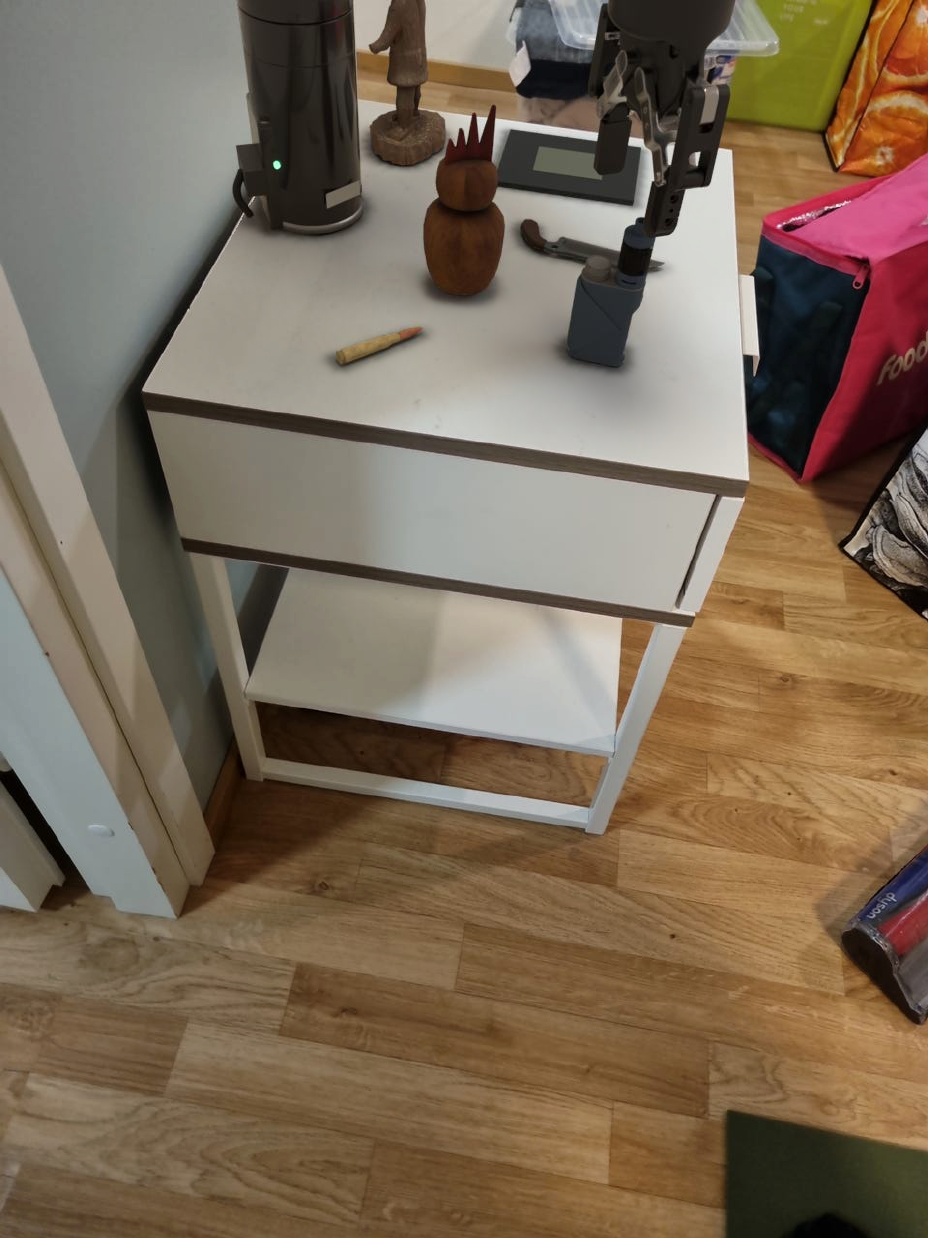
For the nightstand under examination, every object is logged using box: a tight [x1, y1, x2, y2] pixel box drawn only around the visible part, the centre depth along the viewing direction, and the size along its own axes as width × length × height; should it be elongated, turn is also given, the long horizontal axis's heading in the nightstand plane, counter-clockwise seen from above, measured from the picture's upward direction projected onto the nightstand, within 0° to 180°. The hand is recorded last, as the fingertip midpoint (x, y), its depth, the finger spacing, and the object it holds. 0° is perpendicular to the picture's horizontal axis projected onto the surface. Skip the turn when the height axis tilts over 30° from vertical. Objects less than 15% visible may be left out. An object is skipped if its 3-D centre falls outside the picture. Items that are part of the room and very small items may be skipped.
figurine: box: [368, 0, 447, 166], centre depth 86 cm, size 9×8×20 cm
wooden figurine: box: [422, 104, 506, 296], centre depth 74 cm, size 7×6×15 cm
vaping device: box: [566, 216, 657, 368], centre depth 70 cm, size 3×5×12 cm, turn 74°
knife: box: [519, 218, 665, 270], centre depth 84 cm, size 14×4×1 cm, turn 69°
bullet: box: [335, 326, 424, 365], centre depth 74 cm, size 8×1×1 cm
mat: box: [496, 128, 642, 206], centre depth 93 cm, size 14×11×1 cm
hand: (631, 201), depth 65 cm, fingers open, 8 cm apart
